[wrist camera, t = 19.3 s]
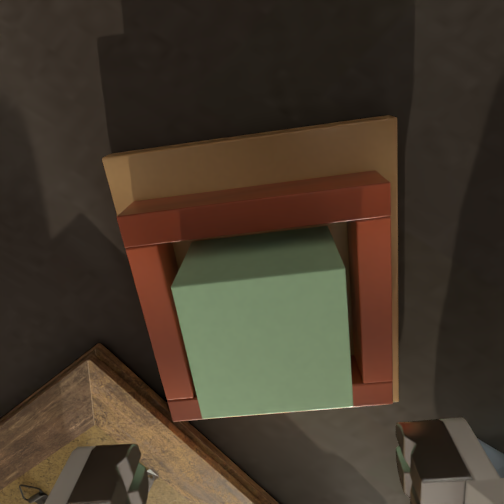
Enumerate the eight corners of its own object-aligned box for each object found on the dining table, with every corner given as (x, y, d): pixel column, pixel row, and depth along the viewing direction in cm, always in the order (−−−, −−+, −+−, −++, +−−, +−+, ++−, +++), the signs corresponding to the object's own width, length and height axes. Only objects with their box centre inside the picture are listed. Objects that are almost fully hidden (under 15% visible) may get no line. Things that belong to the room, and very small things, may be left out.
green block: (191, 241, 17) (170, 286, 13) (327, 225, 16) (345, 267, 13) (214, 353, 19) (202, 419, 15) (336, 341, 18) (353, 407, 15)
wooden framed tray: (110, 153, 17) (78, 168, 14) (390, 114, 16) (416, 121, 13) (176, 406, 21) (163, 454, 19) (393, 387, 20) (413, 436, 18)
